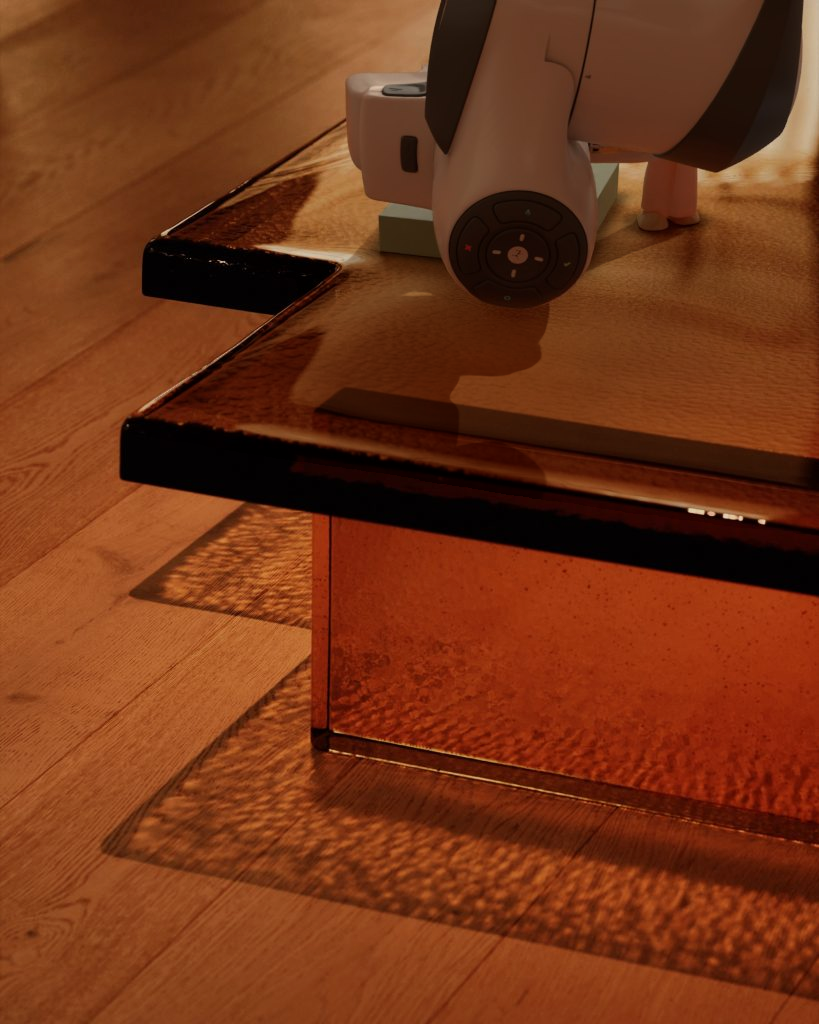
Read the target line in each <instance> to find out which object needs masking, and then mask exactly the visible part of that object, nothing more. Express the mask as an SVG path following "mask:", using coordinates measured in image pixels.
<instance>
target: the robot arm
mask: <svg viewBox="0 0 819 1024" xmlns="http://www.w3.org/2000/svg"><path fill="white" fill-rule="evenodd" d="M804 1H805V0H440V3H439V6H438V10H437V14H436V18H435V22H434V27H433V31H432V36H431V41H430V47H429V55H428V64H427V63H425V64H421V70H417V71H415V72H414V71H413V72H411V71H410V72H358V73H355V74H351V75H349V76H347V77H346V78H345V81H344V93H345V94H344V96H345V97H344V99H345V123H346V139H347V140H346V141H347V147H348V153H349V156H350V159H351V162H352V163H353V165H354V166H355V168H357V169H358V170H359V171H360V173H361V178H362V185H363V188H364V189H363V190H364V194H365V197H367V198H368V199H370V200H373V201H376V202H382V203H396V204H402V205H408V206H414V207H419V208H424V209H428V210H432V214H433V224H434V231H435V236H436V241H437V245H438V249H439V252H440V255H441V258H440V259H441V260H442V263H443V265H444V267H445V269H446V271H447V272H448V274H449V275H450V277H451V279H452V280H453V281H454V283H456V285H458V286H459V288H461V290H463V291H464V292H465V293H467V294H468V295H469V296H471V297H472V298H474V299H476V300H478V301H479V302H482V303H484V304H485V305H490V306H493V307H497V308H502V309H511V310H527V309H535V308H537V307H542V306H545V305H547V304H550V303H552V302H555V301H556V300H558V299H560V298H561V297H563V296H564V295H566V294H568V293H569V292H570V291H571V290H572V289H574V288H575V287H576V286H577V284H579V282H580V281H581V280H582V278H583V277H584V275H585V273H586V272H587V270H588V269H589V266H590V263H591V261H592V256H593V253H594V250H595V245H596V239H597V232H598V231H597V223H598V202H597V192H596V183H595V177H594V173H593V169H592V166H591V164H590V163H619V164H641V163H648V162H650V161H654V160H657V159H659V158H661V159H665V160H669V161H672V162H676V163H680V164H684V165H687V166H691V167H695V168H697V169H699V170H703V171H705V172H710V173H714V174H716V173H720V172H723V171H725V170H727V169H729V168H731V167H733V166H735V165H737V164H739V163H741V162H743V161H745V160H747V159H749V158H751V157H752V156H753V155H755V154H757V153H758V152H760V151H761V150H763V149H764V148H766V147H767V146H768V145H770V144H771V143H773V142H774V141H775V140H777V138H779V137H780V136H781V135H782V134H783V132H784V130H785V128H786V127H787V124H788V122H789V121H788V120H789V117H790V115H791V114H792V111H793V109H794V106H795V104H796V103H795V102H796V99H797V97H798V92H799V88H800V83H801V78H802V77H801V76H802V70H803V69H802V67H803V54H804V53H803V48H804V47H803V46H804V45H803V44H804V43H803V20H804V19H803V18H804Z"/></svg>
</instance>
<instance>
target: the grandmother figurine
mask: <svg viewBox="0 0 819 1024" xmlns="http://www.w3.org/2000/svg"><path fill="white" fill-rule="evenodd" d="M698 174H699V173H698V168H695V167H691V166H687V165H684V164H680V163H676V162H672V161H669V160H665V159H661V158H659V159H657V160H654V161H650V162H647V164H646V167H645V171H644V177H643V182H642V184H643V185H642V195H641V203H640V208H641V209H642V211H640V212H639V213H638V214H637V215H636V221H637V224H638V227H639V228H641V230H645V231H652V232H653V231H654V232H655V231H663V230H666V229H667V228H668V227H669V221H668V220H670V221H671V222H672V223H674V224H676V225H679V226H680V225H682V226H689V225H695V224H697V223H699V222H700V220H701V219H700V215H699V212H697V211H698V207H697V206H698V184H699V183H698V182H699V181H698V176H699V175H698Z"/></svg>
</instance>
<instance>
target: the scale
mask: <svg viewBox="0 0 819 1024" xmlns="http://www.w3.org/2000/svg"><path fill="white" fill-rule="evenodd" d="M590 164H591V166H592V169H593V173H594V177H595V183H596V192H597V202H598V223H597V232H598V230H599V229H600V227H601V225H602V223H603V221H604V220H605V219H606V216H607V215H608V214H609V212H610V210H611V208H612V207H613V204H614V203H615V201H616V200H617V197H618V194H619V193H618V190H619V176H620V175H619V174H620V163H590ZM377 218H378V249H379V252H383V253H384V252H385V253H393V254H402V255H411V256H419V257H428V258H438V259H442V258H441V255H440V252H439V249H438V245H437V241H436V236H435V231H434V224H433V214H432V210H428V209H424V208H419V207H414V206H408V205H402V204H396V203H390V202H388V204H387V205H386V206H385V207H384V209H383V210H382V211H381V212H380V213H379V214H378V217H377Z"/></svg>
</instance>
